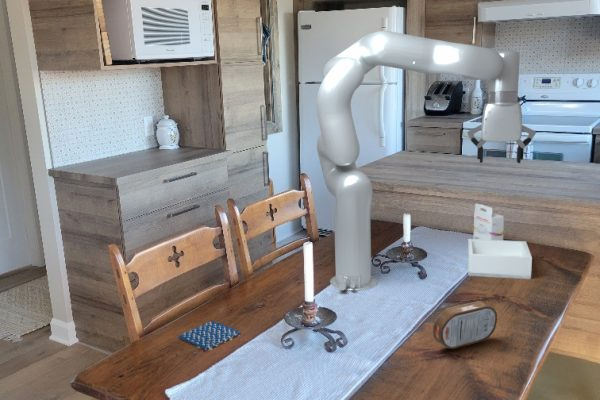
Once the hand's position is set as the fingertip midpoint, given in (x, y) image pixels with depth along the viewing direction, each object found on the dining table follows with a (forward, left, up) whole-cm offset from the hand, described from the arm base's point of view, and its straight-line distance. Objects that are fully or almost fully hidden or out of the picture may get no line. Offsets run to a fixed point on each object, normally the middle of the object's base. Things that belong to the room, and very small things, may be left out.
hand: (499, 162), depth 156 cm
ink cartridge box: (+16, +1, -31) cm, 34 cm away
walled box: (0, -1, -30) cm, 30 cm away
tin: (-48, +8, -31) cm, 58 cm away
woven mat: (-57, +62, -31) cm, 90 cm away
